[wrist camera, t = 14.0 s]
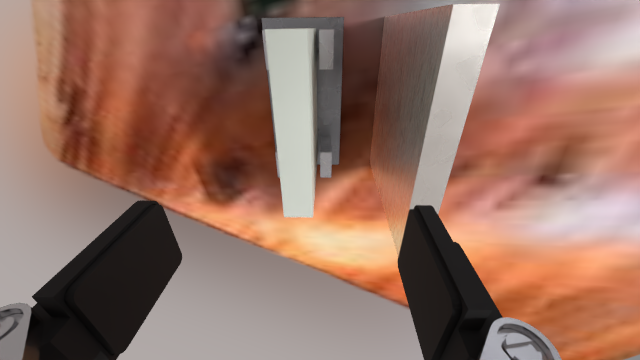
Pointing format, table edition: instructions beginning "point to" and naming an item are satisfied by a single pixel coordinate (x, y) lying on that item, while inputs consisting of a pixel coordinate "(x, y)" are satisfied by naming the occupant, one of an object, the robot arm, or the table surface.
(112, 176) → the table surface
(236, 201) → the table surface
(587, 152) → the table surface
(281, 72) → the door panel
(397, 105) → the white boxy piece
